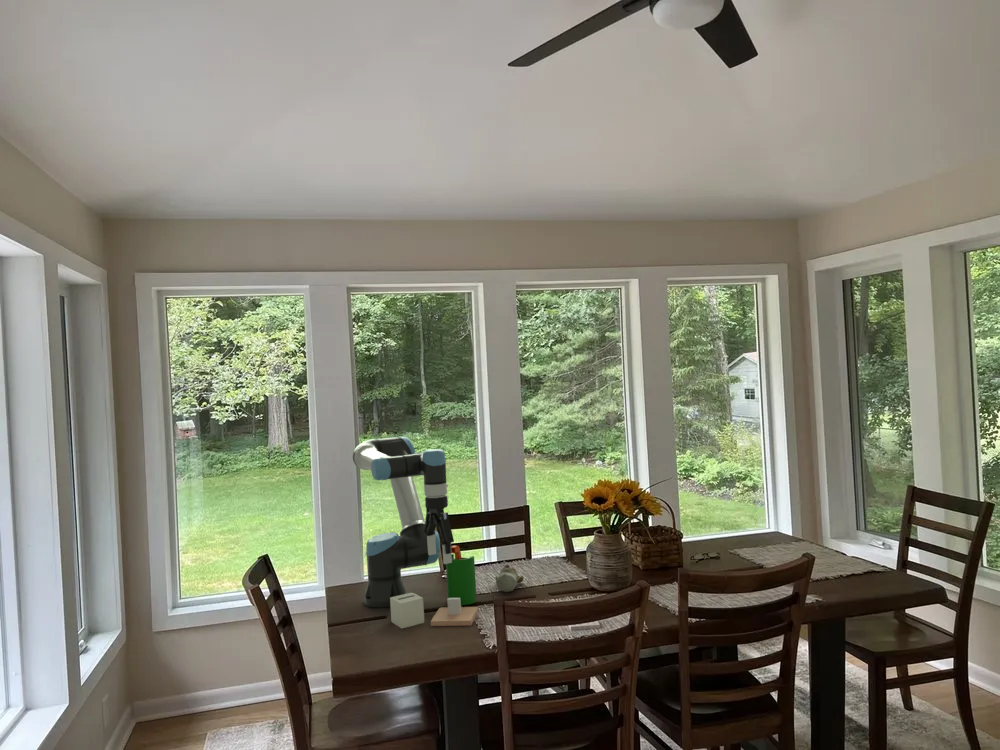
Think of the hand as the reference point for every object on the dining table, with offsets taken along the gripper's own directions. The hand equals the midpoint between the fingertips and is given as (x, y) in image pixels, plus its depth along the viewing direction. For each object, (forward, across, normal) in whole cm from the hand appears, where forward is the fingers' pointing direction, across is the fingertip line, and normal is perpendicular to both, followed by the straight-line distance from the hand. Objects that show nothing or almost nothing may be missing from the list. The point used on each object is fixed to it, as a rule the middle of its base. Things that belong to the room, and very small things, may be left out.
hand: (439, 558), depth 240 cm
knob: (+18, -3, +13) cm, 22 cm away
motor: (+18, +6, -10) cm, 21 cm away
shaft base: (+18, -9, -1) cm, 20 cm away
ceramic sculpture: (+18, +10, -30) cm, 37 cm away
